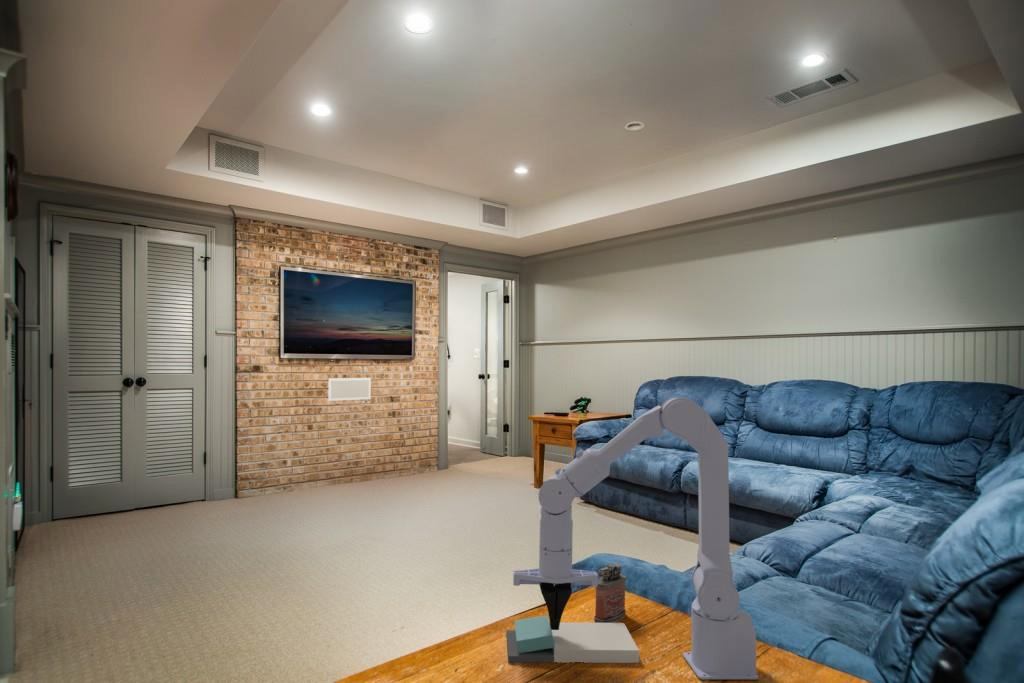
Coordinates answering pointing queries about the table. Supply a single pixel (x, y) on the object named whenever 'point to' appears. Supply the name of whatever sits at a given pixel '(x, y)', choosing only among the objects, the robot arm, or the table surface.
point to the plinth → (594, 643)
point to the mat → (528, 657)
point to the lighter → (610, 595)
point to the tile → (533, 634)
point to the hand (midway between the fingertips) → (554, 627)
